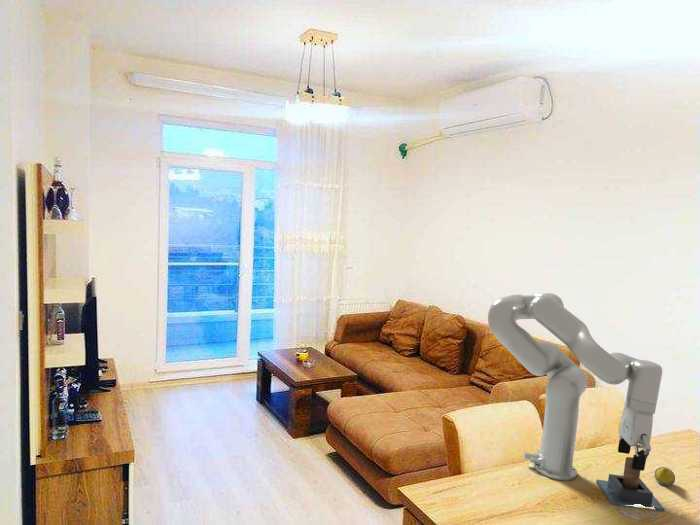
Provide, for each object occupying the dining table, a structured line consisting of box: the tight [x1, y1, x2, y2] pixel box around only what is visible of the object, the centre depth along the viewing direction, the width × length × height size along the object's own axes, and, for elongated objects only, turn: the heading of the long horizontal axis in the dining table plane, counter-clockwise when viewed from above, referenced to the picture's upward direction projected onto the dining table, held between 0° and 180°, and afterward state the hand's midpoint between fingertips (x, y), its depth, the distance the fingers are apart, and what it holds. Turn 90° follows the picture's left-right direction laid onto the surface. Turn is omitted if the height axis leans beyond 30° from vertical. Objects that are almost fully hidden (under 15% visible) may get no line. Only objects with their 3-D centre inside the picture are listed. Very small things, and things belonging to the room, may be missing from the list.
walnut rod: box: [622, 456, 641, 489], centre depth 146 cm, size 4×4×10 cm
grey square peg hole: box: [595, 473, 665, 512], centre depth 146 cm, size 14×12×4 cm
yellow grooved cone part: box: [654, 466, 676, 487], centre depth 154 cm, size 5×5×10 cm
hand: (630, 460), depth 146 cm, fingers open, 9 cm apart
